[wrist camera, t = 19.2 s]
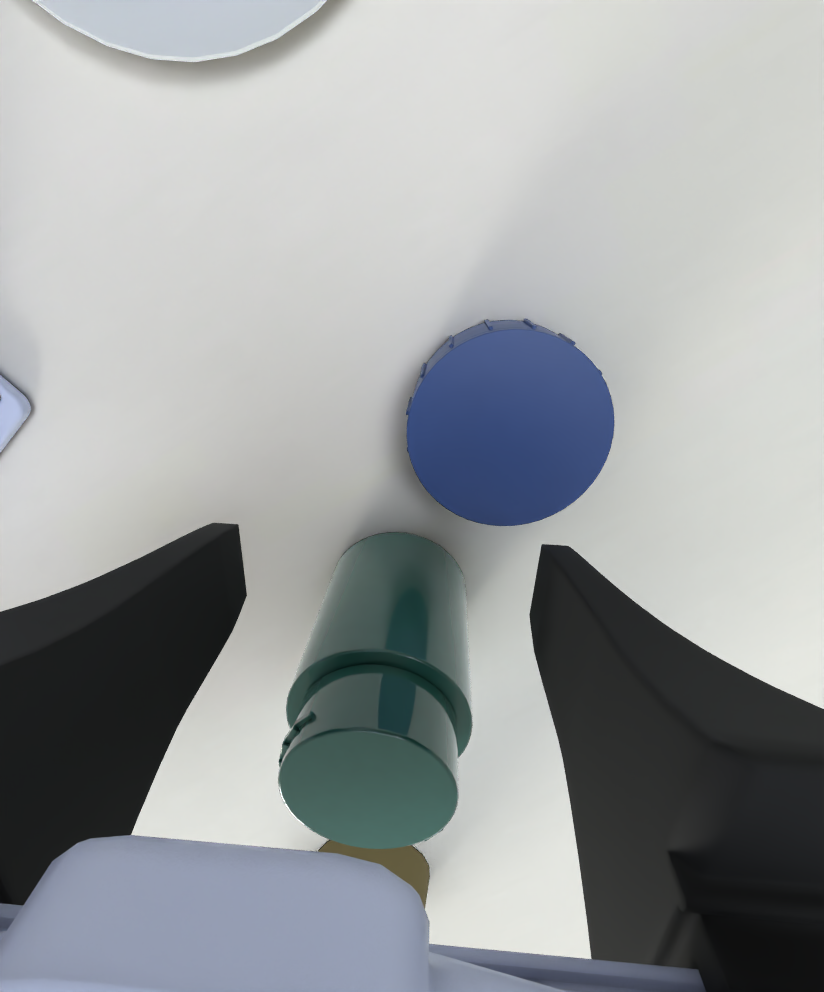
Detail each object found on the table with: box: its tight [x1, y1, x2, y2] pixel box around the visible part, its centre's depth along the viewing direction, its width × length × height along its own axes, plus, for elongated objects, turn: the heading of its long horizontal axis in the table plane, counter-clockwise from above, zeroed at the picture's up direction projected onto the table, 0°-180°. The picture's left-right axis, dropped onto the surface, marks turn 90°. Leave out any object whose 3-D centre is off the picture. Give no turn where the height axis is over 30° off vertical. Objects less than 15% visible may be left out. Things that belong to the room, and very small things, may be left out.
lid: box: [406, 319, 614, 526], centre depth 15 cm, size 6×6×2 cm
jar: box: [278, 532, 473, 849], centre depth 15 cm, size 5×5×8 cm
